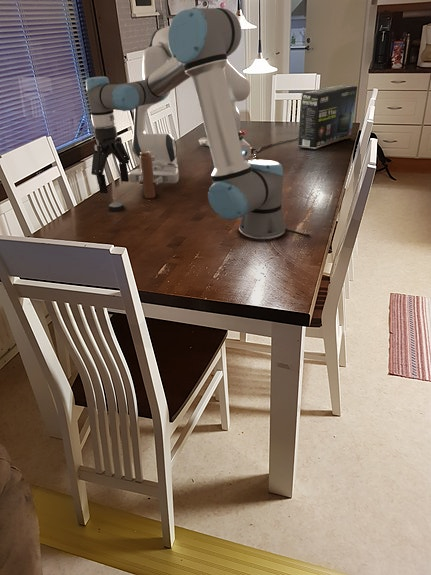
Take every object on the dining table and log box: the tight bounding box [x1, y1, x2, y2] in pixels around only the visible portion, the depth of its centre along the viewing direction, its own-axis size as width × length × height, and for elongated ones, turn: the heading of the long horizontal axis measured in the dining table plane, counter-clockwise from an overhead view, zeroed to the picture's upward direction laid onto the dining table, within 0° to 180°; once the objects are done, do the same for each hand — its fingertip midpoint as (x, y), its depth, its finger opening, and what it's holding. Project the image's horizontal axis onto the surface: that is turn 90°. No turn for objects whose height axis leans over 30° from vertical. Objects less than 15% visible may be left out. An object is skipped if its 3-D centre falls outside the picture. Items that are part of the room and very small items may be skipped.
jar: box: [139, 151, 157, 199], centre depth 179 cm, size 4×4×18 cm
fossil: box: [198, 136, 209, 147], centre depth 249 cm, size 18×11×15 cm
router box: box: [297, 84, 358, 151], centre depth 238 cm, size 36×11×27 cm, turn 134°
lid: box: [109, 201, 125, 212], centre depth 172 cm, size 5×5×2 cm
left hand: (147, 182), depth 179 cm, fingers closed on jar, 4 cm apart
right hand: (114, 186), depth 168 cm, fingers open, 13 cm apart
